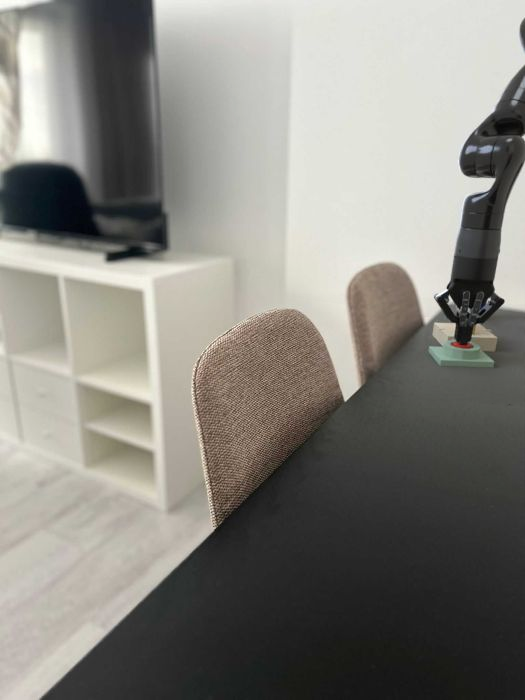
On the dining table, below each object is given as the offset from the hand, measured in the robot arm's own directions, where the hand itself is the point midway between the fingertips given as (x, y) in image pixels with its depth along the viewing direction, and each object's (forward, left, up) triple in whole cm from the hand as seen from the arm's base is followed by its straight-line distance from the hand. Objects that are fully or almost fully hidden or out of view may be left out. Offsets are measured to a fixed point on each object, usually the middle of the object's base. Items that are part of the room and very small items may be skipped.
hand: (461, 343), depth 99 cm
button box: (0, 0, -3) cm, 3 cm away
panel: (-4, -10, -3) cm, 12 cm away
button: (0, 0, -2) cm, 2 cm away
